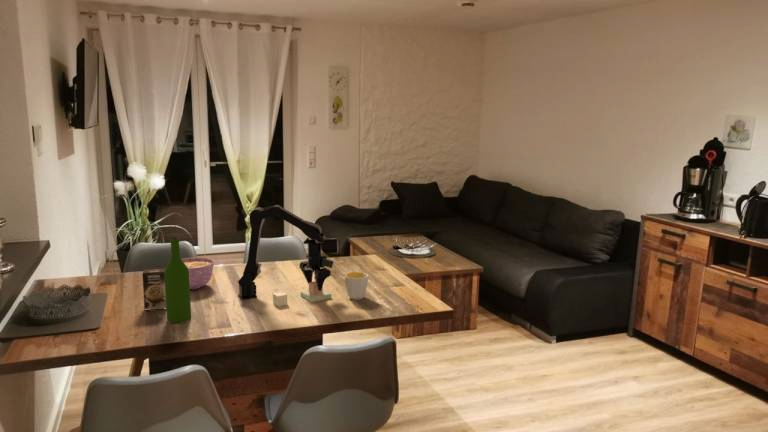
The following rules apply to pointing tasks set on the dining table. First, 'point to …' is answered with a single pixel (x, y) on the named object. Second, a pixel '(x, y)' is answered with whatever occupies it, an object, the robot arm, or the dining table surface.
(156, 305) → the coffee box
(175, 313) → the wine bottle
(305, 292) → the base plate
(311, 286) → the orange brown cube
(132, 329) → the dining table surface
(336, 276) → the dining table surface
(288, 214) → the robot arm
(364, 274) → the mug
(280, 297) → the brick cream
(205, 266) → the bowl of food
